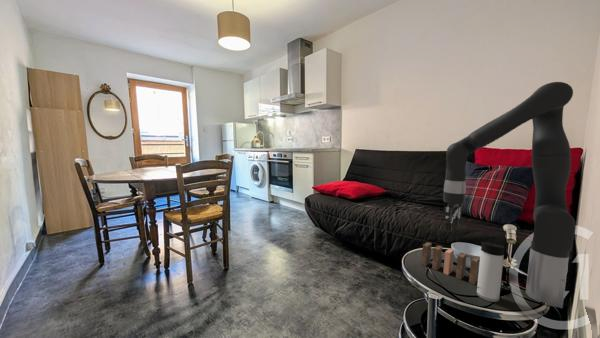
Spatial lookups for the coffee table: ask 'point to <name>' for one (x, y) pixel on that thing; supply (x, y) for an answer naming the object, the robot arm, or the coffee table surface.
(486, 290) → the travel mug
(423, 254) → the walnut tile
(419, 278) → the coffee table surface
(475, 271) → the walnut tile
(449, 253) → the terracotta tile
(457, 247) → the chinaware
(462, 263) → the walnut tile
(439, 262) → the walnut tile
